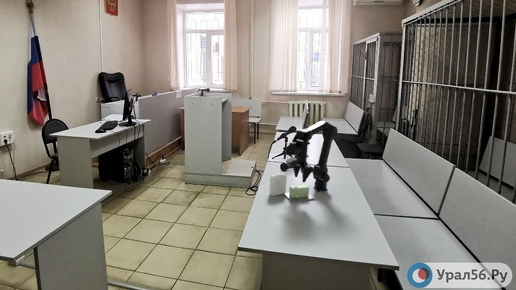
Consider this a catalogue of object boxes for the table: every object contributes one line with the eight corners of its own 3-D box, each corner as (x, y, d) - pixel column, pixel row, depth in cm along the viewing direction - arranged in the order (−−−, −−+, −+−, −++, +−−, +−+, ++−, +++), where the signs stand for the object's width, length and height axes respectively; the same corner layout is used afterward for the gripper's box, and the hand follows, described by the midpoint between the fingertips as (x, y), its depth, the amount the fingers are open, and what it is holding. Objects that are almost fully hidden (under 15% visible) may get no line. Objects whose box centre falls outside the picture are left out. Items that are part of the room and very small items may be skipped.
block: (304, 193, 191) (305, 184, 190) (308, 196, 187) (309, 187, 186) (289, 195, 188) (289, 185, 187) (292, 198, 184) (293, 188, 182)
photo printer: (282, 191, 196) (283, 171, 193) (286, 193, 193) (288, 173, 190) (268, 194, 191) (269, 173, 188) (272, 196, 187) (273, 176, 184)
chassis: (305, 192, 195) (305, 187, 194) (314, 199, 185) (314, 193, 184) (283, 194, 190) (283, 189, 189) (291, 202, 180) (292, 196, 179)
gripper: (281, 149, 187) (279, 175, 191) (296, 158, 170) (294, 186, 174) (299, 148, 191) (297, 174, 195) (315, 157, 174) (312, 184, 178)
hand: (299, 179), depth 185 cm, fingers open, 9 cm apart
